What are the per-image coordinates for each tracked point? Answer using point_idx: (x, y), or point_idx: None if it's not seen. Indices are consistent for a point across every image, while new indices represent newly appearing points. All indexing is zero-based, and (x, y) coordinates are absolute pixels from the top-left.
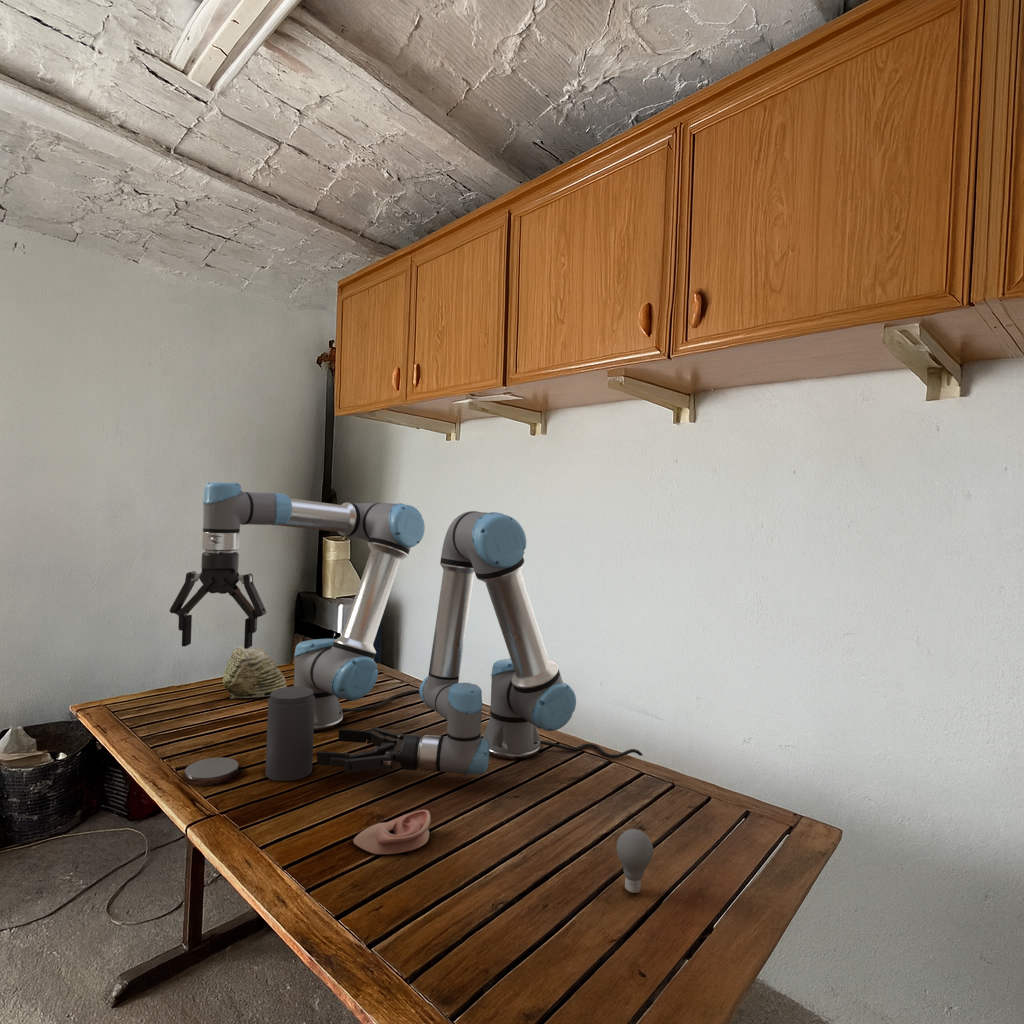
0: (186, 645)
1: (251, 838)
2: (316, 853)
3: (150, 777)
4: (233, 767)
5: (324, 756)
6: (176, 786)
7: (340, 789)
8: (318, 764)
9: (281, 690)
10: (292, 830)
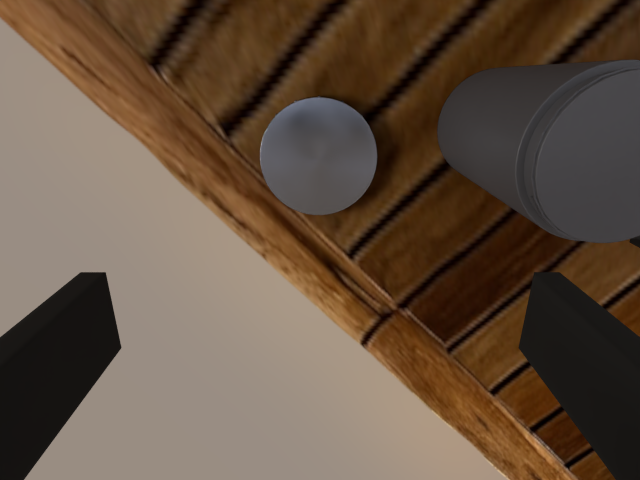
0: (117, 334)
1: (472, 372)
2: None
3: (192, 176)
4: (368, 157)
5: None
6: (270, 214)
7: None
8: None
9: (576, 140)
10: None
